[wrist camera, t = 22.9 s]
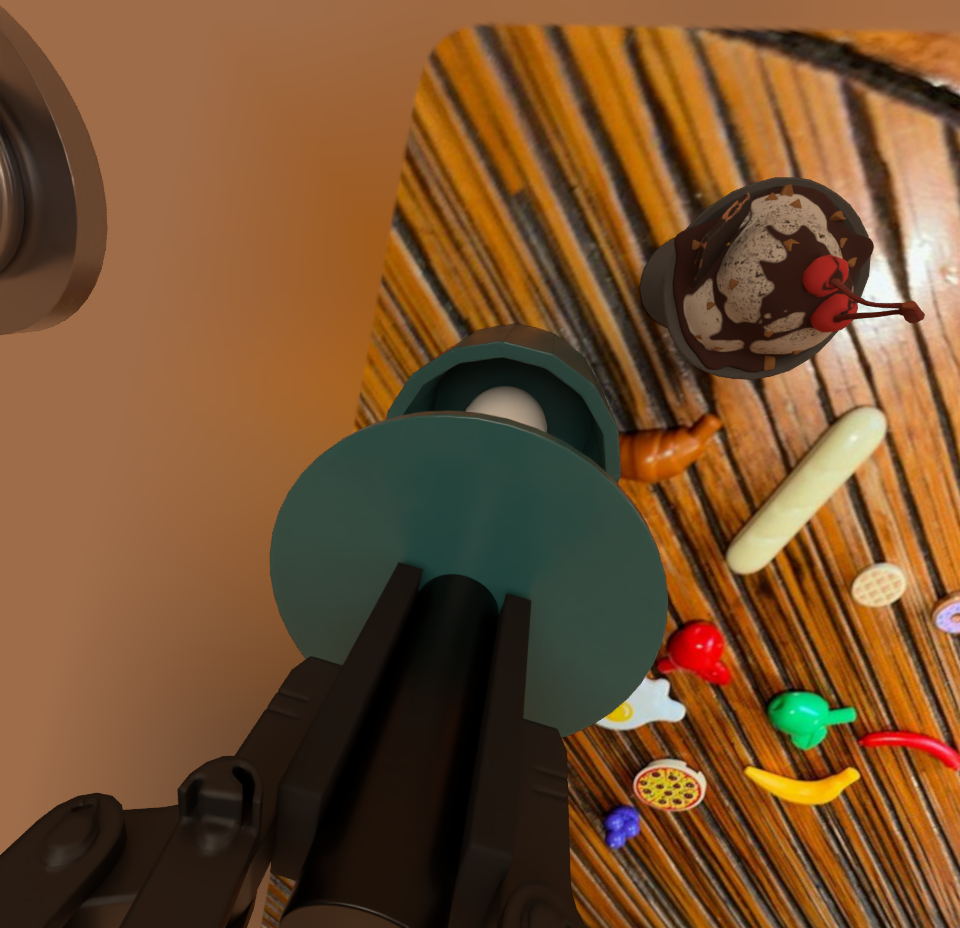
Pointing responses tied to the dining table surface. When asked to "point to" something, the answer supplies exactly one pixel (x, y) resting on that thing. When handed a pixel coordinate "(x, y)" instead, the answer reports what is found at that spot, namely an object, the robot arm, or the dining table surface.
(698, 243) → the sundae
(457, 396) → the pot
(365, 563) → the lid
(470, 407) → the beige ball
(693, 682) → the dining table surface
